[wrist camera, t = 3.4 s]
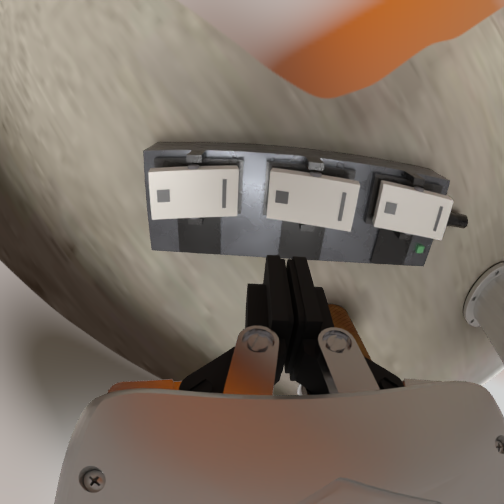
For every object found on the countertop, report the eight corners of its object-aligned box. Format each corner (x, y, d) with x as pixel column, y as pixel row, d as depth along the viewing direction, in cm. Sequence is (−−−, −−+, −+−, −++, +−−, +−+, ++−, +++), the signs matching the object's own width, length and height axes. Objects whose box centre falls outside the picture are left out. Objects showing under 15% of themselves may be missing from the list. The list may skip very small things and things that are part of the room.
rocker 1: (237, 163, 23) (239, 166, 22) (235, 212, 26) (237, 218, 24) (150, 165, 22) (147, 170, 21) (153, 216, 24) (151, 222, 23)
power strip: (468, 178, 27) (497, 197, 22) (445, 251, 32) (468, 277, 27) (157, 142, 27) (134, 155, 22) (162, 231, 32) (145, 260, 27)
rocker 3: (449, 194, 22) (454, 198, 21) (437, 236, 24) (440, 242, 23) (381, 177, 23) (384, 181, 22) (371, 223, 26) (373, 229, 25)
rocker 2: (359, 178, 22) (360, 183, 21) (349, 227, 24) (350, 234, 23) (273, 165, 23) (270, 168, 22) (268, 214, 26) (266, 220, 24)
